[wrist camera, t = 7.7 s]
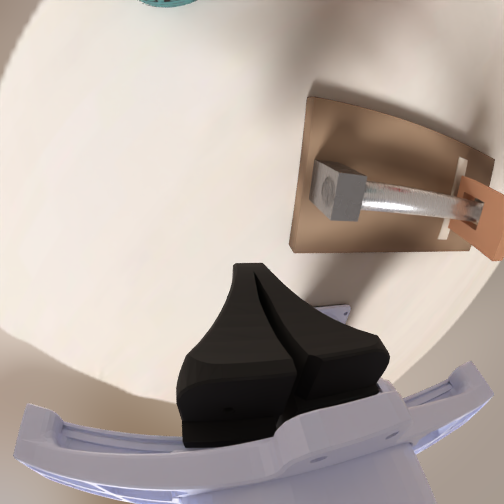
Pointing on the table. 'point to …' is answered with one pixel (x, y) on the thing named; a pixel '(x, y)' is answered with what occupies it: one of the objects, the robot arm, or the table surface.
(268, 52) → the table surface
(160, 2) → the beverage bottle
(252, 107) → the table surface
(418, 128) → the board
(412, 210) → the pipe stand
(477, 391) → the robot arm
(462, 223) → the collar
